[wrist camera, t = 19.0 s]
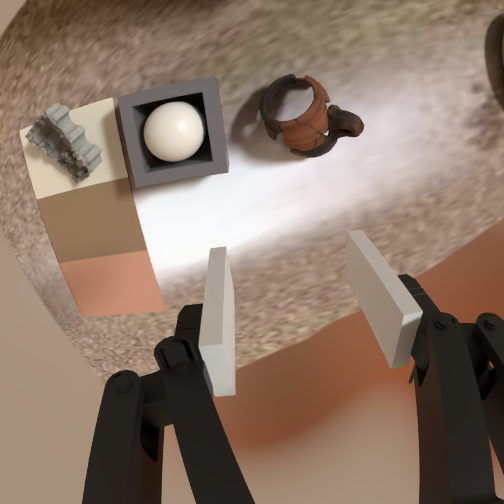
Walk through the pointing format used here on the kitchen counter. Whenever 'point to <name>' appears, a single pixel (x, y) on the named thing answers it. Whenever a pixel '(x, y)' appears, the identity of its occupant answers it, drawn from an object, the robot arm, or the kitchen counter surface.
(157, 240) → the kitchen counter surface
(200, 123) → the cream ball
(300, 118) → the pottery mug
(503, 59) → the saucer
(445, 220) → the kitchen counter surface
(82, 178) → the egg carton
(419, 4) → the kitchen counter surface
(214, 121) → the housing
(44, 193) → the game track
